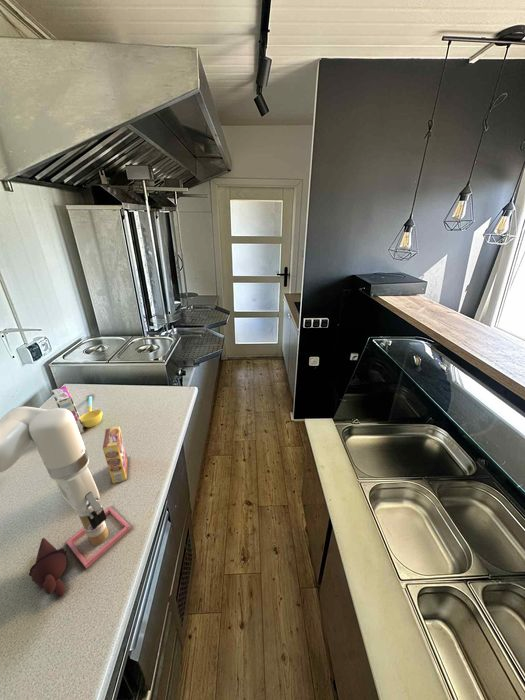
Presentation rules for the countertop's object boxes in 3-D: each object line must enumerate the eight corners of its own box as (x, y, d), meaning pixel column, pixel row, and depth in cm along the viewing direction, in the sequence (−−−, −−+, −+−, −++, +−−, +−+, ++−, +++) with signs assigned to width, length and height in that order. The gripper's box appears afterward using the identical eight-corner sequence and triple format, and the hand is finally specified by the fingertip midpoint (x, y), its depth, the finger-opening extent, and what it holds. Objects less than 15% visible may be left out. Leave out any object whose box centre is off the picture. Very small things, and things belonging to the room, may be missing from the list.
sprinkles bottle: (93, 550, 71) (77, 515, 65) (87, 537, 74) (71, 502, 68) (112, 536, 74) (99, 502, 68) (105, 524, 77) (92, 490, 71)
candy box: (128, 481, 90) (117, 444, 83) (113, 485, 89) (100, 448, 82) (129, 460, 98) (119, 425, 91) (115, 463, 96) (104, 428, 90)
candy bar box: (86, 431, 110) (71, 397, 103) (72, 438, 107) (55, 403, 100) (80, 417, 118) (65, 384, 110) (66, 423, 115) (50, 390, 107)
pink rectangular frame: (87, 570, 68) (84, 566, 67) (68, 546, 73) (65, 541, 72) (131, 530, 76) (129, 525, 75) (111, 511, 81) (110, 506, 80)
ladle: (80, 434, 108) (74, 421, 106) (84, 410, 131) (79, 399, 129) (105, 425, 111) (100, 412, 110) (105, 403, 134) (100, 392, 133)
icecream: (16, 546, 67) (25, 608, 57) (50, 521, 70) (64, 576, 61) (35, 555, 71) (47, 614, 62) (66, 531, 74) (82, 584, 65)
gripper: (31, 454, 64) (56, 505, 71) (68, 494, 55) (91, 546, 63) (67, 435, 69) (87, 484, 77) (106, 468, 61) (123, 519, 68)
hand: (89, 512), depth 70 cm, fingers open, 9 cm apart
